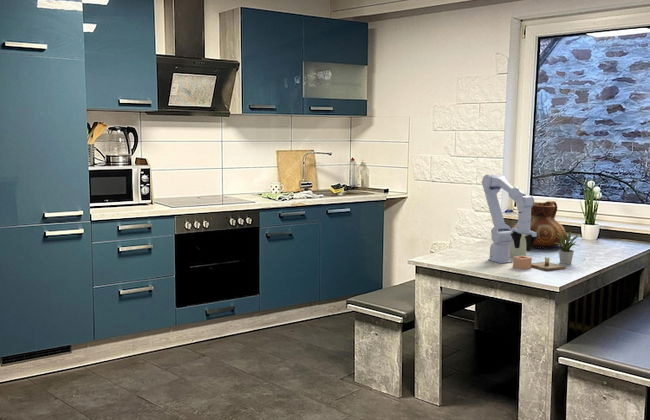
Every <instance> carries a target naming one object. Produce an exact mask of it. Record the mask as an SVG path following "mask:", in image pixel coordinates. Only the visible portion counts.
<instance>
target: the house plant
mask: <svg viewBox="0 0 650 420" xmlns="http://www.w3.org/2000/svg"><path fill="white" fill-rule="evenodd" d="M556 233H557V232H556ZM566 233H567V231H566V230H565V235H566V240H565V239H564V236H563V238H562V237H561V235H560V234H558V233H557V234H558V235H559V237H560V239H559V240H560V241H561V242H560V243H556V244H558V246H559V247H560V249H558V255H559V256H558V258H559V263H560V264H562V265H572V261H573V256H574V253H575V250H572V248H573V247H574V246H576V243H577V241H575V240H577V239H578V238H579V237H580V236H582V234H577V235H575V236H574V237H573V238H571V236H572V235H571V234H572V231H571V230H570V231H569V232H568V233H569V234H566ZM557 237H558V236H557ZM559 237H558V238H559ZM563 240H564V241H563ZM577 246H578V247H579V248H580V244H577Z"/></svg>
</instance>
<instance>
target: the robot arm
mask: <svg viewBox="0 0 650 420" xmlns="http://www.w3.org/2000/svg"><path fill="white" fill-rule="evenodd" d="M481 185H482V189H483V192H484V196H485V200H486V202H487V206H488V209H489V213H490V217H491V220H492V223H493V227H492V228H491V230H490V234H491V240H492V243H491V245H490V246H489V258H488V259H487V260H488V261H491V262H495V263H499V264H506V263H513V260H510V256H509V251H510V244H511V242H512V241H514V245H515V248H519V247H520V239H521V236H522V234H524V235H528V236H525V239H526V252H531V251H532V249H533V248H532V245H533V243H534V241H535V240H536V238H537V237H536V236H537V232H533V231H531V230H530V222H531V207H533V205H534V202H535V199H534V197H533V195H531V194H528V195H527V194H526V193H525V192H523V191H522V190H521V188H520V187H516V186H513V185H512V184H510V183H509V182H508V180H507V179H506V176H504V175H503V174H501V173H499V174H485V175H484V176H483V178H482V180H481ZM501 189H503V191H505V192H506V193H508V197H509V198H510V199H511V200H512V201H514V202H515V205H516V207H517V212H518V214H517V215H518V217H517V223H518V228H513V227H512V228H511V226H509V225H508V224H506V223H505V219H504V216H503V212H502V208H501V205H500V203H499V199H498V193H500V192H501Z"/></svg>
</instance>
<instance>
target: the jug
mask: <svg viewBox="0 0 650 420" xmlns="http://www.w3.org/2000/svg"><path fill="white" fill-rule="evenodd" d="M557 211H558V204H557V202H556V201H553V200H547V201H544V202H542V201H540V202H538V201H537V202H535V201H534V205H533V207H531V222H530V230H531V231H533V232H537V236H536V237H537V238H536V240H535V241H534V243H533V245H532V249H544V248H547V249H554V248H556V247H557V246H559V245H558V244H556V243H560V242H561V241H560V240H559V239H560V237H559V235H558V234H560V235H561V237H562V238H563V236H564V239H565V241H566V235H565V231H566V229H565V227H564V226H563V225H562V224H561V223H560V222H559V221H557V220H556V219H555V218H556V214H557ZM512 228H518V222H516V223H515V225H513V227H512ZM556 232H557V233H558V234H557V233H556ZM566 234H567V232H566ZM567 235H568V234H567ZM527 236H528V235H527ZM557 236H558V237H559V238H558V237H557ZM563 241H564V240H563Z"/></svg>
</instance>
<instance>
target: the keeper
mask: <svg viewBox="0 0 650 420" xmlns="http://www.w3.org/2000/svg"><path fill="white" fill-rule="evenodd" d="M531 268H534V269H537V270H541V271H546V272H550V271H559V270H566V268H567V266H565V265H563V264H562V265H561V264H558V263H555V262H554V263H553V262H550V257H544V261H541V262H540V261H539V262H532V263H531Z"/></svg>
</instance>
